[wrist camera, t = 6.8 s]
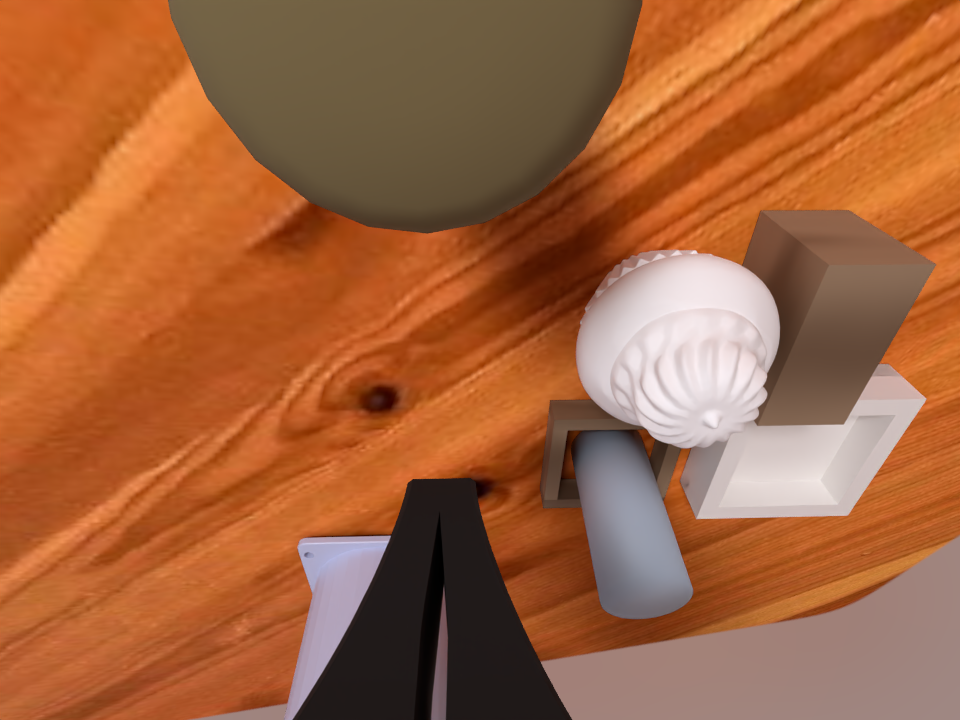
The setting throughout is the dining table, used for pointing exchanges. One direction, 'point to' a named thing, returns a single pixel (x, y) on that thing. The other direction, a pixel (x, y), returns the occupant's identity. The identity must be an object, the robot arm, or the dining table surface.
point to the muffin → (679, 345)
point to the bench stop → (829, 308)
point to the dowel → (628, 527)
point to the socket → (589, 418)
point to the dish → (802, 459)
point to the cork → (411, 96)
